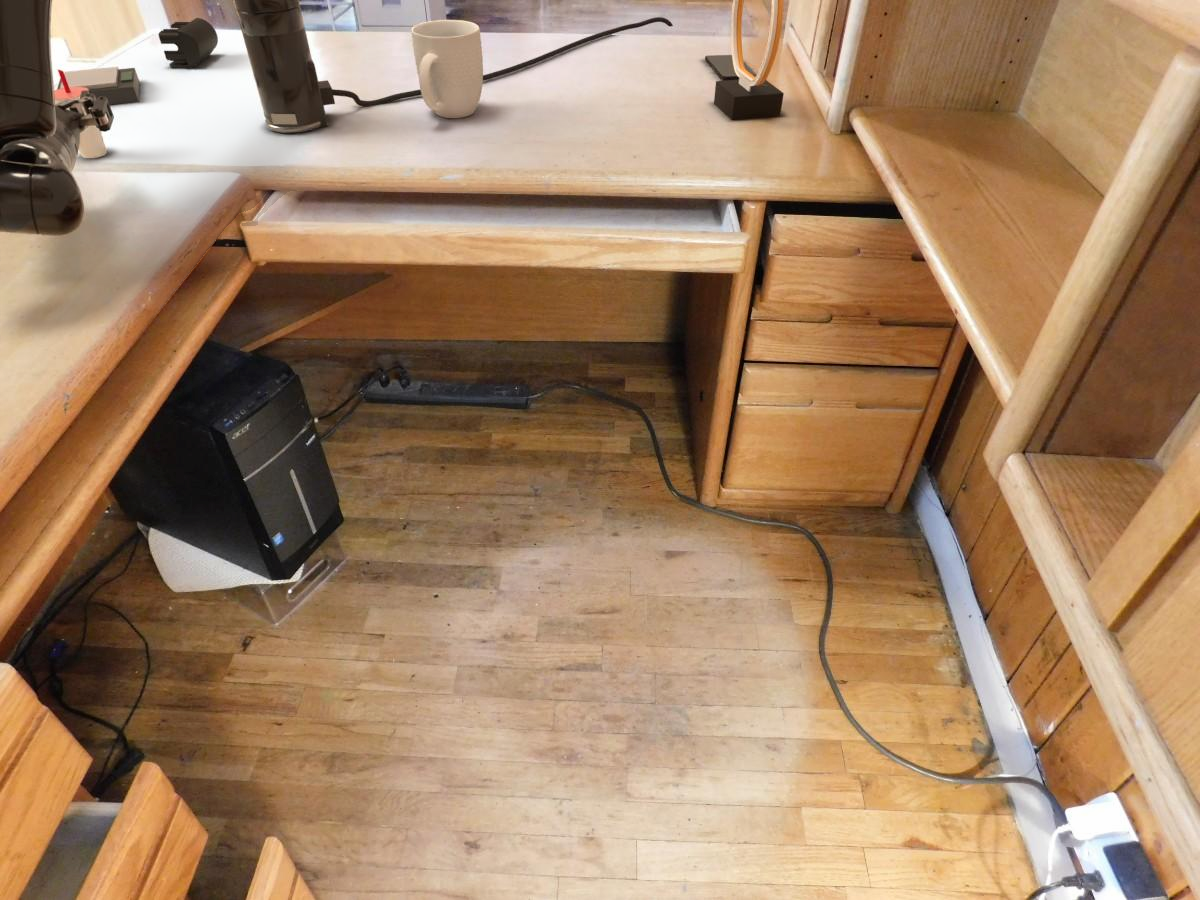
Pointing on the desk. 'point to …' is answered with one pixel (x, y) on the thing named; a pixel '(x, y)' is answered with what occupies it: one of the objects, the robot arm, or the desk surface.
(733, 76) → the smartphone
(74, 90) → the cup
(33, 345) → the desk surface
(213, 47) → the end cap
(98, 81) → the scale
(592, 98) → the desk surface
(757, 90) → the lamp
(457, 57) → the mug
